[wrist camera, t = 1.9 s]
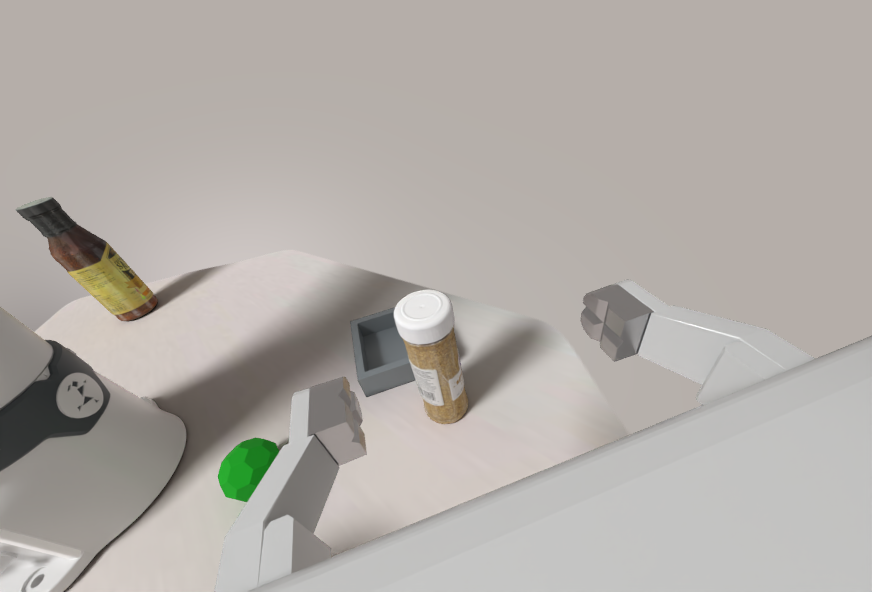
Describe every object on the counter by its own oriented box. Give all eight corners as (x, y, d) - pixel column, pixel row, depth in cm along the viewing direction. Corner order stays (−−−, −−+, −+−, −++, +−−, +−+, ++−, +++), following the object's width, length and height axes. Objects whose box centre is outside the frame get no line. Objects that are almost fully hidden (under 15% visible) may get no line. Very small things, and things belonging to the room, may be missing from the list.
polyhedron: (291, 444, 33) (268, 419, 30) (294, 493, 29) (268, 470, 26) (239, 468, 32) (210, 444, 29) (235, 522, 28) (201, 501, 25)
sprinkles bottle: (477, 410, 32) (462, 309, 24) (437, 434, 31) (406, 336, 23) (453, 378, 36) (434, 279, 27) (416, 399, 34) (383, 302, 26)
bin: (366, 397, 36) (357, 380, 34) (357, 337, 43) (350, 321, 41) (449, 368, 37) (446, 350, 35) (427, 315, 44) (423, 298, 42)
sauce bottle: (166, 304, 57) (68, 195, 45) (126, 327, 53) (8, 215, 41) (152, 295, 60) (57, 191, 48) (114, 316, 57) (1, 209, 44)
